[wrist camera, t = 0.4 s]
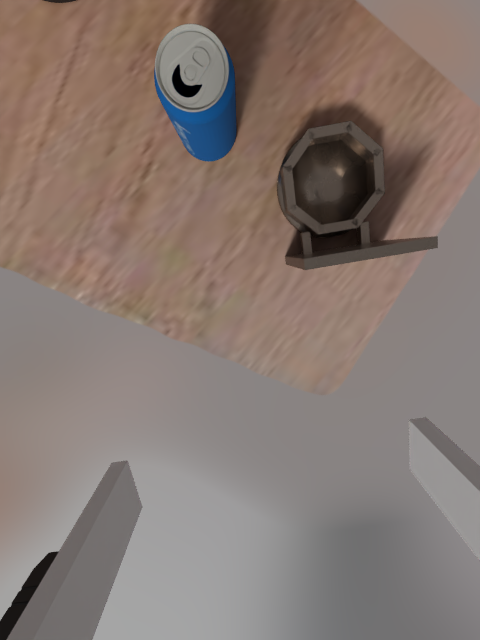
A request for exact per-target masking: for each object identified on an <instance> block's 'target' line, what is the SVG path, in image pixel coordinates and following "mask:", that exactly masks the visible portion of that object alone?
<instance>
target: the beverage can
mask: <svg viewBox="0 0 480 640" xmlns="http://www.w3.org/2000/svg"><path fill="white" fill-rule="evenodd" d="M154 79H155V87H156V91H157V94H158V97H159V99H160V101H161V103H162V105H163V107H164V109H165V110H166V112H167V114H168V116H169V118H170V120H171V122H172V124H173V125H174V127H175V129H176V131H177V133H178V135H179V137H180V139H181V141H182V142H183V144H184V146H185V148H186V149H187V150H188V152H189V153H190V154H191V155H193V156H194V157H195V158H197V159H200V160H203V161H215V160H218V159H220V158H222V157H224V156H225V155H226V154H227V153H228V152H229V151H230V150H231V148H232V146H233V144H234V142H235V139H236V99H235V73H234V67H233V64H232V60H231V58H230V56H229V54H228V52H227V50H226V48H225V47H224V46H223V44H222V43H221V41H220V40H219V38H218V37H217V36H216V35H215V34H214V33H213V32H212V31H210V30H209V29H207V28H206V27H203V26H201V25H197V24H184V25H181V26H178V27H176V28H174V29H173V30H171V31H170V32H169V33H168V34H167V35H166V36H165V37H164V39H163V40H162V42H161V44H160V46H159V48H158V51H157V54H156V60H155V71H154Z"/></svg>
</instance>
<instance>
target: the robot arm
mask: <svg viewBox="0 0 480 640" xmlns="http://www.w3.org/2000/svg"><path fill="white" fill-rule="evenodd" d="M44 1H48V2H55V3H65V2H72V1H76V0H44ZM409 445H410V446H409V447H410V471H411V472H412V473H413V475H414V476H415V477H416V478H417V480H418V481H419V482H420V484H421V485H422V486H423V488H424V489H425V490H426V492H427V493H428V494H429V495H430V497H431V498H432V499H433V501H434V502H435V503H436V505H437V506H438V507H439V509H440V510H441V511H442V512H443V514H444V515H445V516H446V518H447V519H448V520H449V522H450V523H451V524H452V525H453V527H454V528H455V529H456V531H457V532H458V533H459V535H460V536H461V537H462V538H463V540H464V541H465V542H466V544H467V545H468V546H469V548H470V549H471V550H472V552H473V553H474V554H475V555H476V557H477V558H478V559H479V561H480V466H479V465H478V464H477V463H476V462H475V461H474V460H472V459H471V458H470V457H469V456H468V455H467V454H466V453H464V451H463V450H461V449H460V448H459V447H458V446H457V445H456V444H455V443H454V442H453V441H451V440H450V439H449V438H448V437H447V436H446V435H445V434H444V433H443V432H442V431H441V430H440V429H438V428H437V427H436V426H435V425H434V424H433V423H432V422H431V421H429V419H427V418H426V417H425V418H418V419H411V420H409ZM141 509H142V505H141V501H140V498H139V495H138V492H137V489H136V486H135V482H134V479H133V476H132V473H131V470H130V467H129V463H128V461H121V462H114V463H111V465H110V467H109V469H108V470H107V472H106V473H105V475H104V477H103V478H102V480H101V482H100V484H99V485H98V487H97V489H96V490H95V492H94V494H93V496H92V497H91V499H90V500H89V502H88V504H87V505H86V507H85V509H84V510H83V512H82V514H81V515H80V517H79V519H78V521H77V522H76V524H75V525H74V527H73V529H72V531H71V533H70V534H69V536H68V537H67V539H66V541H65V542H64V544H63V546H62V547H61V549H60V551H59V552H51V553H48V554H47V555H46V556H45V558H44V559H43V560H42V561H41V562H40V563H39V564H38V565H37V566H36V567H35V568H34V569H33V571H32V572H31V574H30V576H29V577H28V579H27V580H26V582H25V583H24V585H23V586H22V590H21V591H19V593H18V594H17V596H16V597H15V599H14V600H13V602H12V605H11V607H9V608H8V610H7V611H6V613H5V614H4V616H3V617H2V619H1V621H0V640H92V639H93V636H94V634H95V631H96V628H97V626H98V623H99V620H100V618H101V615H102V612H103V610H104V607H105V604H106V602H107V599H108V596H109V594H110V591H111V588H112V586H113V583H114V580H115V578H116V575H117V572H118V570H119V567H120V565H121V562H122V559H123V557H124V554H125V551H126V549H127V546H128V543H129V541H130V538H131V535H132V532H133V530H134V527H135V525H136V522H137V519H138V517H139V514H140V511H141Z"/></svg>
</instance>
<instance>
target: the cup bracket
mask: <svg viewBox="0 0 480 640" xmlns="http://www.w3.org/2000/svg"><path fill="white" fill-rule="evenodd" d="M384 193H385V188H384V164H383V148H382V147H381V146H379V145H378V144H377V143H376V142H375V141H374V140H373V139H371V138H370V137H369V136H368V135H367V134H366V133H364V132H363V131H362V130H361V129H360V128H359V127H358V126H356V125H355V124H354V123H353V122H352V121H348V122H343V123H337V124H332V125H327V126H321V127H316V128H311V129H308V130H307V132H306V133H305V135H304V136H303V138H301V139H300V140H299V141H298V142H297V143H296V144H295V145H294V146H293V147H292V148H291V149H290V151H289V152H288V154H287V155H286V157H285V159H284V161H283V163H282V165H281V168H280V171H279V175H278V180H277V196H278V201H279V204H280V207H281V210H282V212H283V214H284V215H285V217H286V219H287V220H288V221H289V222H290V223H291V224H292V225H293V226H294V227H295V228H296V229H298V230H299V231H301V232H303V233H300V242H301V251H302V254H298V255H292V256H286V257H285V259H286V265H290V266H293V267H297V268H300V269H303V270H308V269H314V268H320V267H326V266H332V265H338V264H344V263H350V262H356V261H362V260H368V259H374V258H380V257H386V256H391V255H397V254H403V253H409V252H415V251H421V250H427V249H433V248H437V245H438V242H437V241H438V239H437V238H438V237H437V236H436V237H423V238H409V239H396V240H382V241H374V242H370V234H369V221H368V222H363V221H364V219H365V218H366V217H367V215H368V214H369V213H370V212H371V210H372V209H373V208H374V206H375V205H376V204H377V202H378V201H379V200H380V199H381V197H382V196H383V195H384ZM362 222H363V223H362ZM354 228H357V242H358V244H357V245H351V246H345V247H339V248H333V249H327V250H321V251H315V252H312V246H311V237H310V236H314V237H332V236H336V235H340V234H343V233H345V232H347V231H349V230H351V229H354Z"/></svg>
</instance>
